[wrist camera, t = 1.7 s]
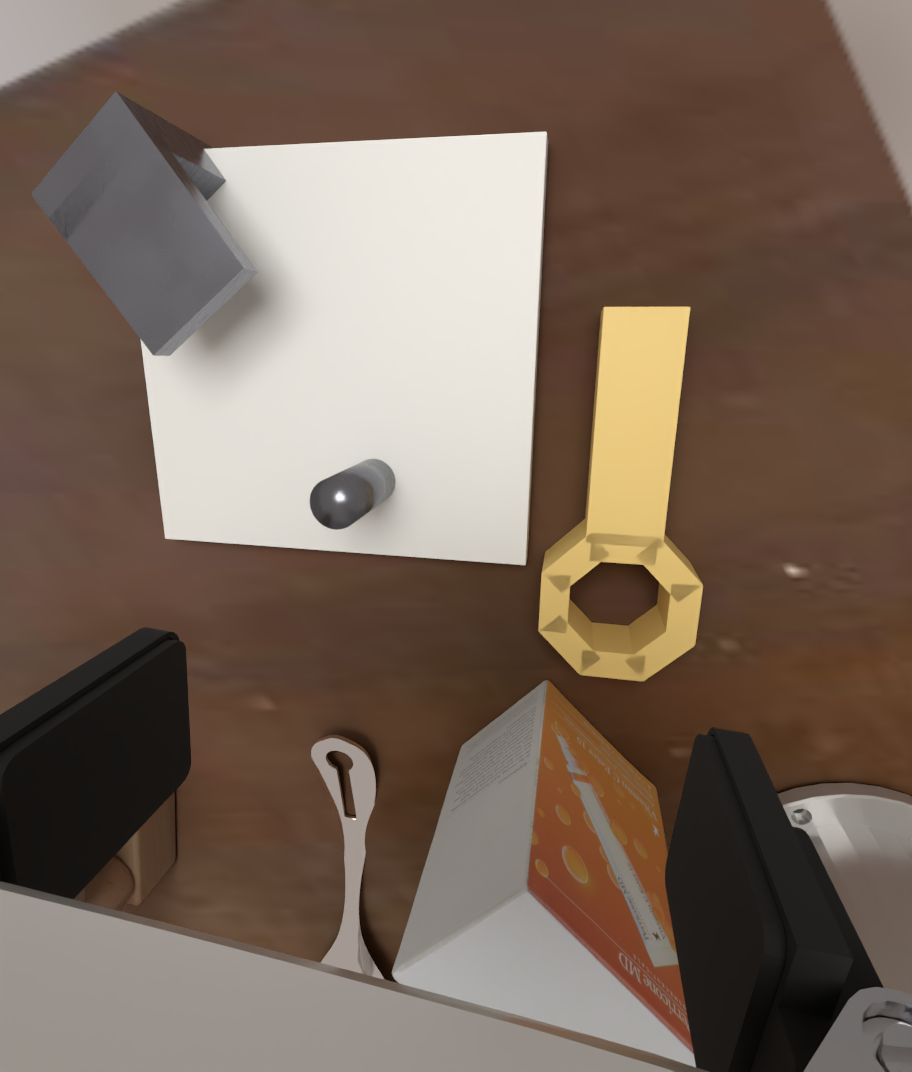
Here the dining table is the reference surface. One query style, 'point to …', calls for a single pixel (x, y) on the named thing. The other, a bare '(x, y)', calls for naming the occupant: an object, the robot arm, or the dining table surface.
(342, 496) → the pin
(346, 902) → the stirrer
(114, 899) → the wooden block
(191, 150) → the block
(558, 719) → the small box
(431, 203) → the board
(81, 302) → the dining table surface
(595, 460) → the link
